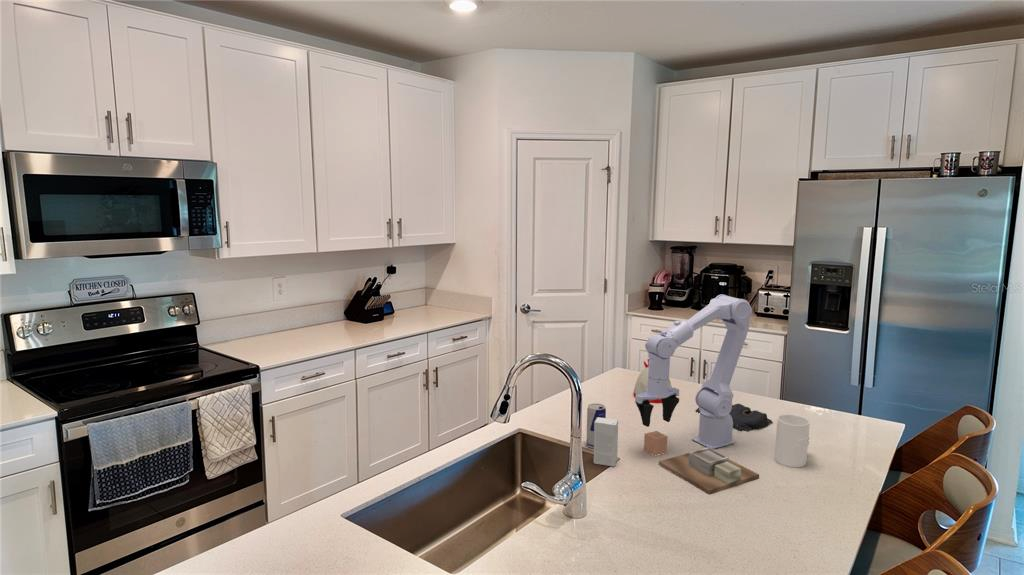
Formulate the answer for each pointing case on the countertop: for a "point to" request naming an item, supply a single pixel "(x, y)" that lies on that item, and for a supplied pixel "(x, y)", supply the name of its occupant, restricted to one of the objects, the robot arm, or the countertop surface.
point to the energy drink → (592, 415)
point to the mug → (792, 440)
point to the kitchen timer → (645, 383)
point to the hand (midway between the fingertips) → (656, 423)
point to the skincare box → (605, 441)
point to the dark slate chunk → (747, 418)
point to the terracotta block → (655, 443)
